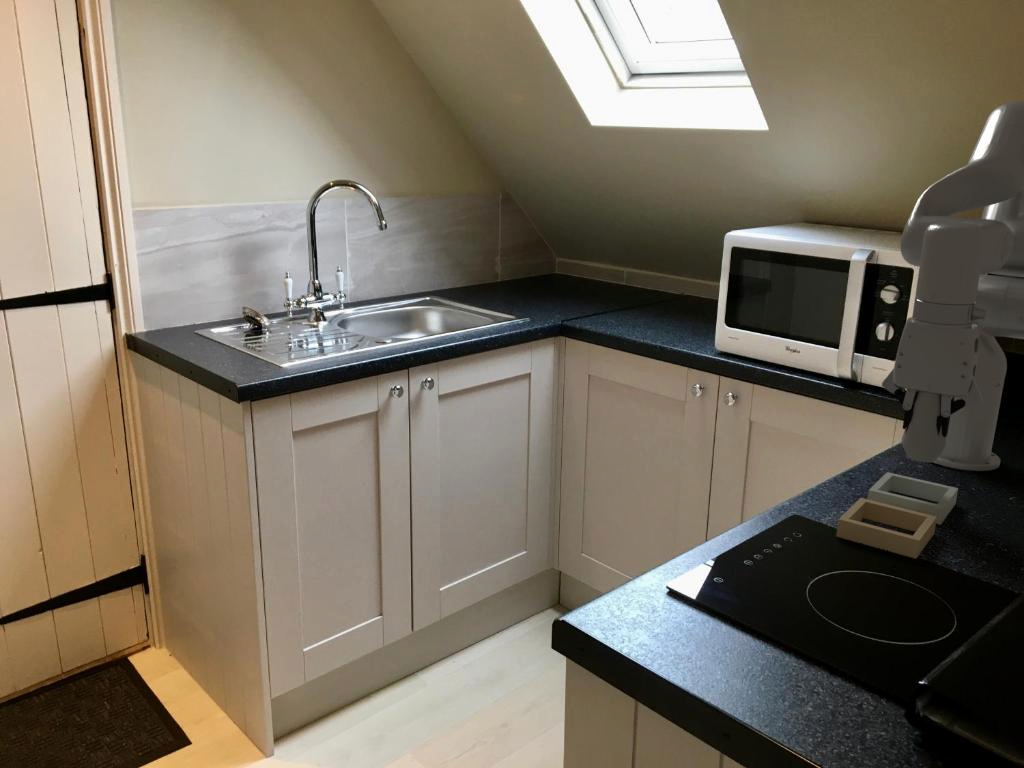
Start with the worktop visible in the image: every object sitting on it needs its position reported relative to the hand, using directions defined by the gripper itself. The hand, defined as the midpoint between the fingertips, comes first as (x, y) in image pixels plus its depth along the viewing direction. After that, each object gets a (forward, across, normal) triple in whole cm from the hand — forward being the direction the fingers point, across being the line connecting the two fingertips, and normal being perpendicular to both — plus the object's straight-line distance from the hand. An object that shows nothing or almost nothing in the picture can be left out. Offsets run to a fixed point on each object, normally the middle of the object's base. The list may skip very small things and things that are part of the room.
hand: (923, 436), depth 124 cm
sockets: (+10, 0, +8) cm, 13 cm away
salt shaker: (+3, 0, 0) cm, 3 cm away
